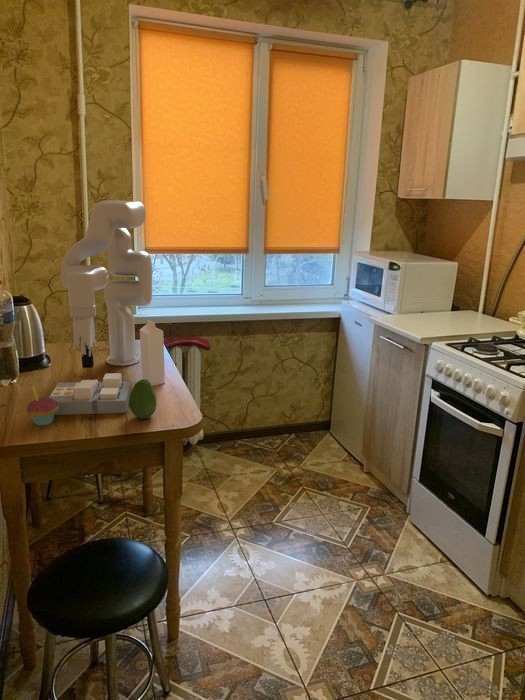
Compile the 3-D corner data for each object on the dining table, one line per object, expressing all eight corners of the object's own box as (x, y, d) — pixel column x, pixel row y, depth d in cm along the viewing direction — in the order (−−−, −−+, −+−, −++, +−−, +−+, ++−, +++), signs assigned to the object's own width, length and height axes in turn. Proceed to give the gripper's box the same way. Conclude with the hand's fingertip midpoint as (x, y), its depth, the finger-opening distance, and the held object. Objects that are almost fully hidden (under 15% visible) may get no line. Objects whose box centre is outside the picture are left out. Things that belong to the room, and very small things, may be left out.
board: (59, 394, 173) (58, 381, 172) (131, 392, 176) (131, 379, 175) (46, 415, 158) (45, 401, 156) (126, 412, 161) (125, 399, 159)
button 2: (82, 394, 172) (81, 380, 171) (98, 394, 173) (97, 379, 171) (79, 400, 167) (78, 385, 166) (96, 400, 168) (95, 385, 167)
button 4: (103, 402, 166) (102, 388, 165) (119, 402, 167) (118, 387, 165) (100, 409, 161) (99, 394, 160) (117, 409, 162) (116, 393, 160)
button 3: (106, 388, 173) (105, 373, 171) (122, 387, 173) (121, 373, 172) (103, 393, 168) (102, 379, 166) (120, 393, 168) (119, 378, 167)
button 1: (77, 397, 164) (76, 382, 163) (94, 397, 165) (93, 382, 164) (74, 403, 160) (73, 388, 158) (91, 403, 160) (90, 388, 159)
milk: (149, 387, 181) (146, 324, 175) (141, 381, 186) (138, 320, 179) (165, 383, 185) (163, 322, 178) (157, 378, 189) (155, 318, 183)
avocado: (159, 412, 162) (158, 375, 158) (154, 423, 154) (152, 384, 150) (133, 411, 162) (131, 374, 158) (126, 422, 154) (124, 384, 150)
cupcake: (28, 430, 148) (23, 390, 144) (27, 418, 155) (23, 379, 152) (61, 425, 151) (57, 386, 148) (59, 414, 159) (55, 376, 155)
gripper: (75, 304, 168) (80, 358, 175) (64, 318, 154) (71, 376, 161) (99, 304, 169) (104, 358, 176) (91, 317, 155) (96, 375, 162)
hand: (88, 366), depth 168 cm, fingers closed
